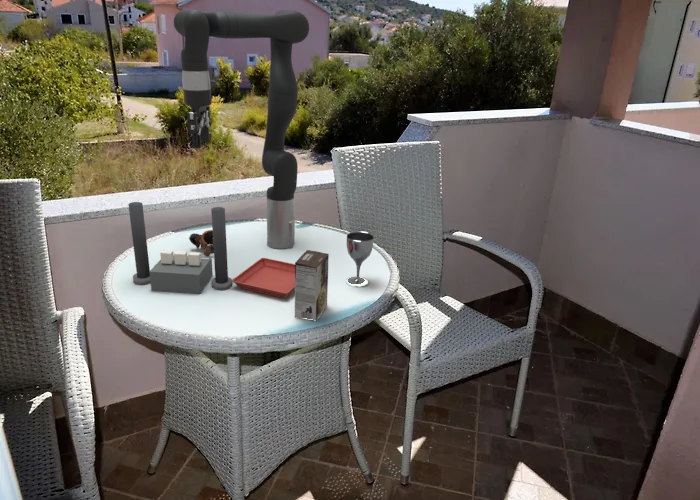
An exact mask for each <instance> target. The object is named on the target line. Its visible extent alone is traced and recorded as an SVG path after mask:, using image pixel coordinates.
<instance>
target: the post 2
mask: <svg viewBox="0 0 700 500" xmlns="http://www.w3.org/2000/svg"><path fill="white" fill-rule="evenodd" d="M210 211H211V228H212V229H211V230H213V247H214V253H213V259H214V260H213V262H214V263H213V264H214V278H211V279H210V282H211V284H210V285H211V288H212V289H213V290H217V291H225V290H228V289H231V288H232V287H233V283H234V282H233V281H232V280H233V278H232V277H229V268H228V253H227V252H228V251H227V248H228V247H227V246H228V245H227V229H226V228H227V227H226V226H227V225H226V208H225V207H223V206H221V207H220V206H216V207H212V208H211V210H210Z"/></svg>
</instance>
